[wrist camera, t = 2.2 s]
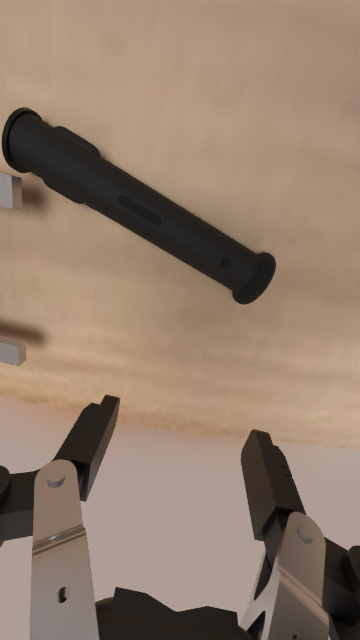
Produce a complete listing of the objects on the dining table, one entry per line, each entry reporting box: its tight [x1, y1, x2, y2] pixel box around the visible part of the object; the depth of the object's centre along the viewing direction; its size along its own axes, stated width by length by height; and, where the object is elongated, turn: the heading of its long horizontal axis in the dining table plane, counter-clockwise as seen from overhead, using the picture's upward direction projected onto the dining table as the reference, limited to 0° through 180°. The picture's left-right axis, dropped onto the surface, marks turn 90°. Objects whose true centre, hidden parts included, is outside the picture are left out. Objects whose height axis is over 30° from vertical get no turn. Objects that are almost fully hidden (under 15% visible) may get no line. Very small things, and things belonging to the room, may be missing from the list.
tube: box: [2, 107, 276, 304], centre depth 23 cm, size 25×6×6 cm, turn 60°
